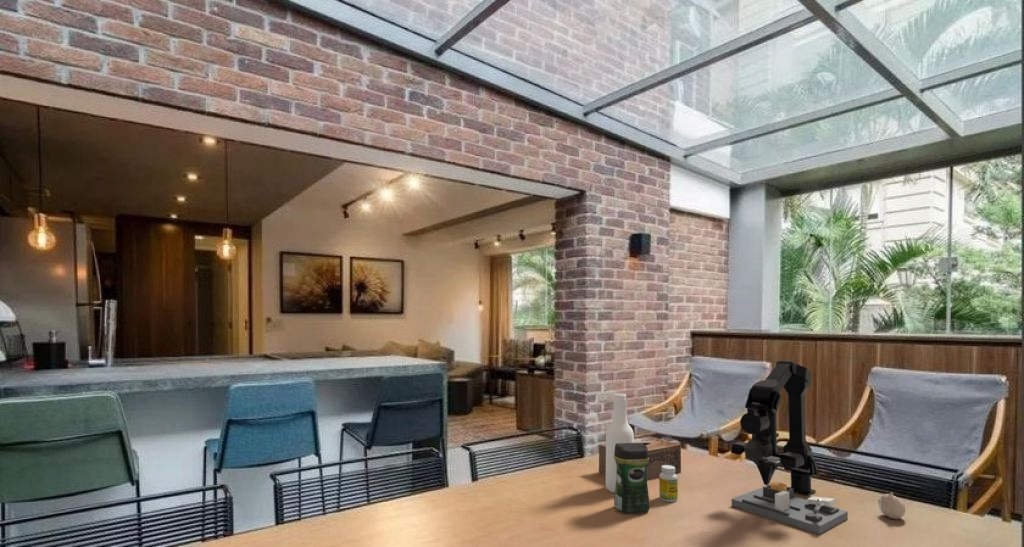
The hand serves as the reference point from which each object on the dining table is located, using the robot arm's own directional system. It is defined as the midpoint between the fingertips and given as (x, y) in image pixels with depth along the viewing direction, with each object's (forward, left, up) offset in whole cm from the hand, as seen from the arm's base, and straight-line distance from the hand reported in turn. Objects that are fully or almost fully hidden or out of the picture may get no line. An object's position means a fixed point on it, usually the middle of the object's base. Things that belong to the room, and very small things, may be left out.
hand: (766, 484), depth 148 cm
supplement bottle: (+15, -22, -8) cm, 28 cm away
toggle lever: (0, +13, -4) cm, 13 cm away
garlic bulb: (-26, +23, -8) cm, 35 cm away
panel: (-5, +4, -8) cm, 10 cm away
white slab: (-10, +11, -4) cm, 15 cm away
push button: (-10, -1, -5) cm, 12 cm away
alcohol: (+21, -36, -8) cm, 43 cm away
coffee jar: (+31, -23, -8) cm, 40 cm away
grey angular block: (0, +4, -6) cm, 7 cm away
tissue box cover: (+1, -44, -8) cm, 45 cm away
